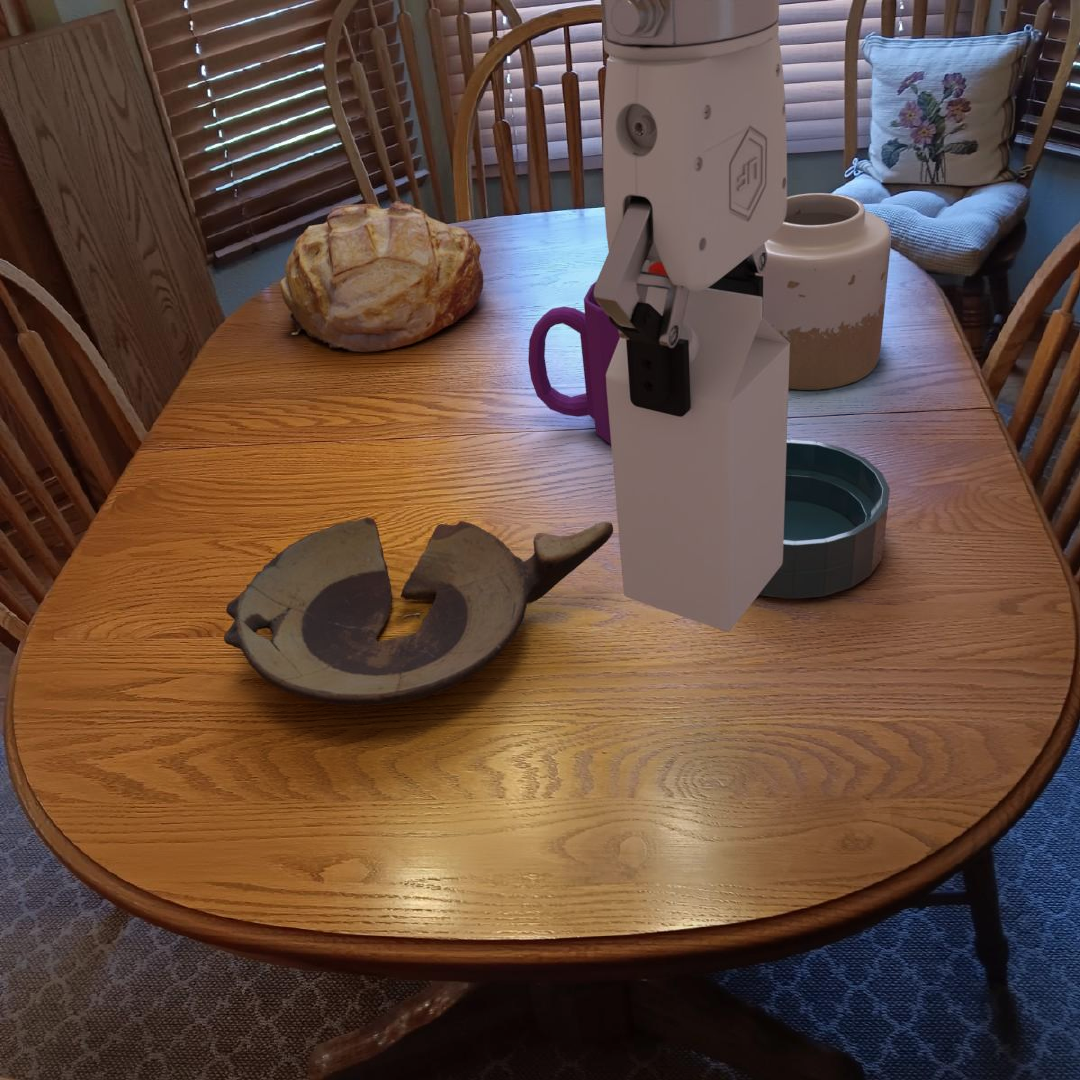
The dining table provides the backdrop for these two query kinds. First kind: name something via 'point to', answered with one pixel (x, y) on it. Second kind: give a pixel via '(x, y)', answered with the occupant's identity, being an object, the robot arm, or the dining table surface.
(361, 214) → the bread
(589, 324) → the mug
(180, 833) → the dining table surface
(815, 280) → the vase
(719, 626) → the milk carton
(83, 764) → the dining table surface
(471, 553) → the broken pan
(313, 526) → the dining table surface
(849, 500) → the shallow pet bowl
